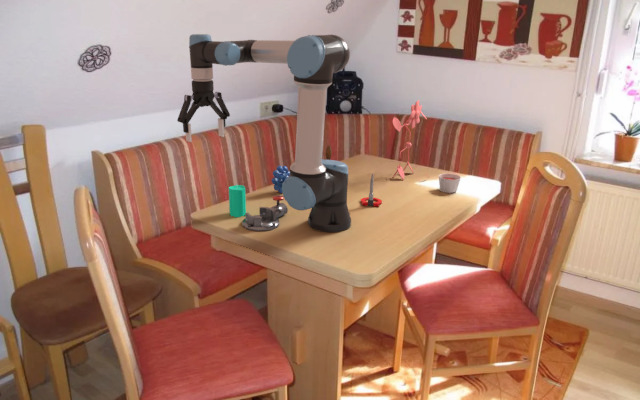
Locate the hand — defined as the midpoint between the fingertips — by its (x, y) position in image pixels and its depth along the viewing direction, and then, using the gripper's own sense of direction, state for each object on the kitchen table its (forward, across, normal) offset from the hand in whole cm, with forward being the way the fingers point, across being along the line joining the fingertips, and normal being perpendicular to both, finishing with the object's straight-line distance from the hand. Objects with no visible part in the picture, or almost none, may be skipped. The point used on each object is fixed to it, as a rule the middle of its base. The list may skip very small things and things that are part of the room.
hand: (205, 138), depth 200 cm
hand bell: (+26, -58, +4) cm, 64 cm away
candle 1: (+26, -4, +14) cm, 30 cm away
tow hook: (+27, -51, +36) cm, 68 cm away
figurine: (+27, -91, +25) cm, 98 cm away
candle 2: (+27, -88, +47) cm, 104 cm away
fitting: (+26, -7, +27) cm, 38 cm away
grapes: (+26, -31, +6) cm, 41 cm away
